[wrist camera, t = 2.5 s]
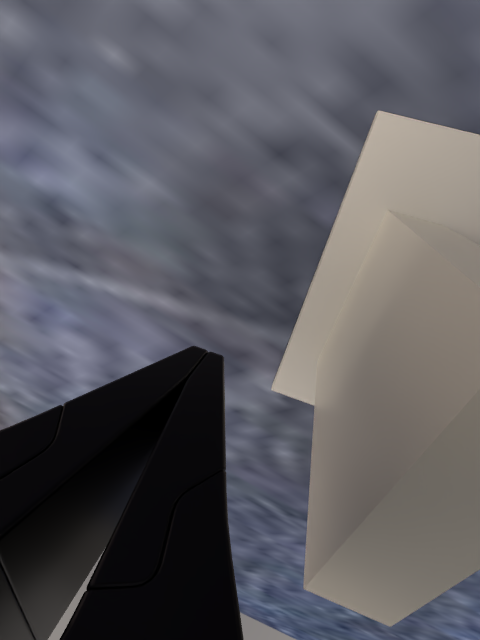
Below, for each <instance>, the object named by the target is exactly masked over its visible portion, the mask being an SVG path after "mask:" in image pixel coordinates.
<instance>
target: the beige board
mask: <svg viewBox="0 0 480 640" xmlns="http://www.w3.org/2000/svg"><path fill="white" fill-rule="evenodd" d="M387 210H390V211H394V212H397V213H401V214H404V215H408V216H412V217H415V218H419V219H422V220H426V221H430V222H433V223H437V224H440V225H444V226H445V227H447V228H449V229H451V230H453V231H454V232H456V233H458V234H460V235H461V236H463V237H465V238H467V239H468V240H470V241H472V242H474V243H475V244H477V245H479V246H480V135H478V134H474V133H470V132H466V131H461V130H457V129H453V128H449V127H445V126H441V125H437V124H432V123H428V122H424V121H420V120H416V119H412V118H407V117H403V116H399V115H395V114H391V113H387V112H383V111H378V112H377V113H376V115H375V117H374V120H373V123H372V125H371V128H370V130H369V133H368V136H367V138H366V141H365V143H364V146H363V149H362V151H361V154H360V157H359V159H358V162H357V164H356V167H355V170H354V172H353V175H352V178H351V180H350V183H349V185H348V188H347V191H346V193H345V196H344V198H343V201H342V204H341V206H340V209H339V212H338V214H337V217H336V219H335V222H334V225H333V227H332V230H331V232H330V235H329V238H328V240H327V243H326V246H325V248H324V251H323V253H322V256H321V259H320V261H319V264H318V266H317V269H316V272H315V274H314V277H313V280H312V282H311V285H310V287H309V290H308V293H307V295H306V298H305V300H304V303H303V306H302V308H301V311H300V314H299V316H298V319H297V321H296V324H295V327H294V329H293V332H292V334H291V337H290V340H289V342H288V345H287V348H286V350H285V353H284V355H283V358H282V361H281V363H280V366H279V369H278V371H277V374H276V376H275V379H274V382H273V385H272V388H271V390H273V391H275V392H278V393H281V394H284V395H286V396H289V397H292V398H295V399H298V400H300V401H303V402H306V403H309V404H311V405H314V406H315V392H316V375H317V361H318V359H319V357H320V355H321V353H322V350H323V348H324V346H325V344H326V342H327V340H328V337H329V335H330V333H331V331H332V329H333V327H334V324H335V322H336V320H337V318H338V316H339V314H340V312H341V309H342V307H343V305H344V303H345V301H346V299H347V296H348V294H349V292H350V290H351V288H352V286H353V283H354V281H355V279H356V277H357V275H358V273H359V271H360V268H361V266H362V264H363V262H364V260H365V258H366V255H367V253H368V251H369V249H370V247H371V245H372V242H373V240H374V238H375V236H376V234H377V232H378V230H379V227H380V225H381V223H382V221H383V219H384V217H385V214H386V212H387Z"/></svg>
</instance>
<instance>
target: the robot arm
mask: <svg viewBox="0 0 480 640" xmlns="http://www.w3.org/2000/svg"><path fill="white" fill-rule="evenodd" d="M225 470H226V449H225V389H224V357H223V356H222V355H219V354H216V353H213V352H208V351H207V350H205V349H202V348H199V347H197V346H191V347H189V348H187V349H185V350H182V351H180V352H178V353H176V354H173V355H171V356H169V357H167V358H164V359H162V360H160V361H158V362H156V363H153V364H151V365H149V366H147V367H144V368H142V369H140V370H138V371H135V372H133V373H131V374H129V375H126V376H124V377H122V378H120V379H117V380H115V381H113V382H111V383H108V384H106V385H104V386H102V387H100V388H97V389H95V390H93V391H91V392H88V393H86V394H84V395H82V396H79V397H77V398H75V399H73V400H70V401H68V402H66V403H64V405H63V406H62V405H59V406H57V407H54V408H52V409H50V410H48V411H45V412H43V413H41V414H39V415H36V416H34V417H31V418H29V419H27V420H24V421H22V422H20V423H17V424H15V425H13V426H10V427H8V428H5V429H3V430H0V640H47V639H48V638H49V636H50V635H51V633H52V632H53V630H54V629H55V627H56V625H57V624H58V622H59V620H60V619H61V617H62V616H63V614H64V613H65V611H66V609H67V608H68V606H69V604H70V603H71V601H72V600H73V598H74V597H75V595H76V593H77V592H78V590H79V589H80V587H81V586H82V584H83V582H84V581H85V579H86V578H87V576H88V574H89V573H90V571H91V570H92V568H93V566H94V565H95V563H96V562H97V560H98V558H99V557H100V555H101V554H102V552H103V551H104V552H103V554H102V556H101V559H100V561H99V562H98V565H97V567H96V569H95V571H94V573H93V575H92V577H91V579H90V581H89V583H88V585H87V591H86V592H84V594H83V596H82V598H81V600H80V602H79V604H78V606H77V608H76V610H75V612H74V614H73V616H72V618H71V619H70V621H69V624H68V625H67V627H66V629H65V631H64V633H63V634H62V636H61V638H60V640H243V633H242V625H241V618H240V611H239V604H238V597H237V590H236V583H235V576H234V569H233V562H232V554H231V544H230V535H229V526H228V512H227V493H226V472H225ZM105 547H106V548H105ZM104 549H105V550H104Z"/></svg>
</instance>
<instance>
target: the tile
mask: <svg viewBox="0 0 480 640" xmlns="http://www.w3.org/2000/svg"><path fill="white" fill-rule="evenodd" d="M479 569H480V246H479V245H477V244H475V243H474V242H472V241H470V240H468V239H467V238H465V237H463V236H461V235H460V234H458V233H456V232H454V231H453V230H451V229H449V228H447V227H445V226H444V225H440V224H437V223H433V222H430V221H426V220H422V219H419V218H415V217H412V216H408V215H404V214H401V213H397V212H394V211H390V210H387V212H386V214H385V217H384V219H383V221H382V223H381V225H380V227H379V230H378V232H377V234H376V236H375V238H374V240H373V242H372V245H371V247H370V249H369V251H368V253H367V255H366V258H365V260H364V262H363V264H362V266H361V268H360V271H359V273H358V275H357V277H356V279H355V281H354V283H353V286H352V288H351V290H350V292H349V294H348V296H347V299H346V301H345V303H344V305H343V307H342V309H341V312H340V314H339V316H338V318H337V320H336V322H335V324H334V327H333V329H332V331H331V333H330V335H329V337H328V340H327V342H326V344H325V346H324V348H323V350H322V353H321V355H320V357H319V359H318V361H317V375H316V392H315V408H314V424H313V440H312V457H311V473H310V489H309V505H308V522H307V538H306V554H305V570H304V587H303V589H305V590H307V591H310V592H312V593H314V594H316V595H319V596H321V597H323V598H326V599H328V600H330V601H332V602H335V603H337V604H339V605H342V606H344V607H346V608H349V609H351V610H353V611H355V612H358V613H360V614H362V615H365V616H367V617H369V618H371V619H374V620H376V621H378V622H381V623H383V624H385V625H388V626H390V627H391V626H392V625H394V624H396V623H397V622H399V621H400V620H402V619H403V618H405V617H406V616H408V615H410V614H411V613H413V612H414V611H416V610H417V609H419V608H420V607H422V606H423V605H425V604H427V603H428V602H430V601H431V600H433V599H434V598H436V597H437V596H439V595H441V594H442V593H444V592H445V591H447V590H448V589H450V588H451V587H453V586H455V585H456V584H458V583H459V582H461V581H462V580H464V579H465V578H467V577H469V576H470V575H472V574H473V573H475V572H476V571H478V570H479Z"/></svg>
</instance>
